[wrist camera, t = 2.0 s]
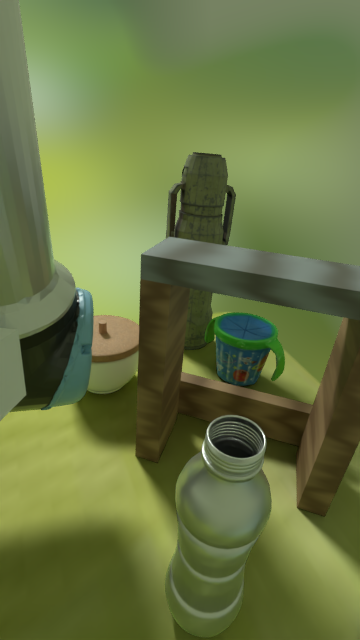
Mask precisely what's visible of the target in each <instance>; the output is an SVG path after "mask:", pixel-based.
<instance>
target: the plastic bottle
mask: <svg viewBox="0 0 360 640" xmlns="http://www.w3.org/2000/svg"><path fill="white" fill-rule="evenodd" d="M266 441H267V440H266V436H265V434H264V432H263V430H262V429H261V428H260V427H259V426H258V425H257V424H256V423H255V422H253V421H252V420H250V419H248V418H245V417H242V416H238V415H225V416H221V417H218V418H216V419H215V420H213V421H212V422H211V423H210V425H209V426H208V429H207V431H206V436H205V440H204V442H203V445H202V449H201V452H199V453H198V454H196V455H195V456H193V457H192V458H191V459H190V460H189V461H188V462H187V463H186V465H185V466H184V468H183V470H182V472H181V473H180V475H179V477H178V480H177V483H176V491H175V502H176V509H177V518H178V543H177V547H176V550H175V553H174V555H173V557H172V559H171V561H170V564H169V567H168V570H167V574H166V580H165V591H166V597H167V601H168V605H169V609H170V611H171V614H172V616H173V618H174V619H175V621H176V622H177V624H178V625H179V626H180V627H181V628H182V629H183V630H185V631H186V632H188V633H189V634H191V635H194V636H197V637H205V638H207V637H213V636H216V635H218V634H220V633H222V632H223V631H224V630H225V629H227V628H228V626H229V625H230V624H231V623H232V622H233V620H234V619H235V618H236V617H237V615H238V613H239V611H240V608H241V605H242V601H243V591H244V577H243V575H244V569H245V563H246V561H247V558H248V556H249V553H250V551H251V549H252V547H253V545H254V544H255V542H256V541H257V539H258V537H259V536H260V534H261V533H262V531H263V529H264V527H265V526H266V523H267V521H268V519H269V516H270V512H271V502H272V500H271V492H270V487H269V483H268V480H267V478H266V476H265V474H264V472H263V470H262V466H263V462H264V453H265V450H266Z"/></svg>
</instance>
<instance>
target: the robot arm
mask: <svg viewBox="0 0 360 640" xmlns="http://www.w3.org/2000/svg"><path fill="white" fill-rule="evenodd" d="M93 320H94V318H93V300H92V295H91V293H90V292H88V291H87V290H83V289H80V288H76V287H75V282H74V279H73V277H72V274H71V273H70V272H69V270H68V269H67V268H66V267H65V266H64V265H62V264H61V263H59V262H58V261H56V260H54V259H53V251H52V244H51V237H50V229H49V221H48V214H47V207H46V199H45V192H44V184H43V177H42V170H41V163H40V155H39V148H38V140H37V133H36V125H35V118H34V111H33V103H32V96H31V88H30V81H29V73H28V66H27V59H26V51H25V43H24V36H23V29H22V21H21V15H20V6H19V0H0V420H1V419H3V418H4V417H5V416H6V415H7V414H8V413H9V412H15V411H26V410H37V409H41V410H48V409H50V408H52V407H56V406H62V405H68V404H73V403H76V402H78V401H79V400H81V399H82V398H83V396H84V395H85V393H86V391H87V388H88V385H89V379H90V372H91V362H92V349H91V347H92V340H93Z"/></svg>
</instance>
